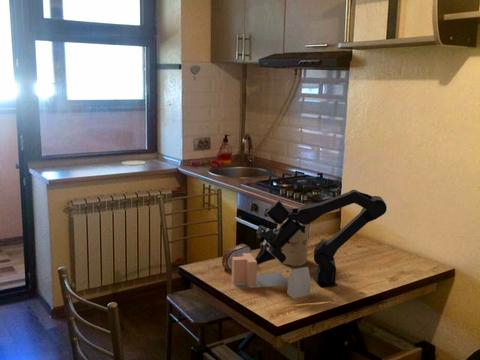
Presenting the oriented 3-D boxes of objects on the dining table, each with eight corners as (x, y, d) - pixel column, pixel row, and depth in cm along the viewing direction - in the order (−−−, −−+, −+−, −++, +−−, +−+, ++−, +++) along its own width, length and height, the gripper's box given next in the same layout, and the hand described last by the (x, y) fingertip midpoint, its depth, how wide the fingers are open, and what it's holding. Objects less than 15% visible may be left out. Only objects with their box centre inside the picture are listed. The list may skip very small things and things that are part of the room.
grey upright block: (309, 296, 175) (311, 268, 173) (293, 300, 172) (294, 271, 170) (303, 292, 178) (305, 265, 176) (287, 295, 175) (288, 268, 173)
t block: (249, 276, 189) (250, 253, 187) (256, 286, 181) (257, 261, 179) (229, 277, 187) (230, 254, 186) (235, 287, 179) (236, 263, 177)
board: (280, 274, 193) (281, 273, 193) (290, 286, 183) (290, 284, 183) (229, 278, 188) (229, 276, 188) (236, 290, 178) (236, 288, 178)
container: (308, 267, 201) (310, 223, 197) (276, 266, 201) (278, 222, 197) (305, 256, 213) (307, 214, 209) (275, 255, 213) (276, 213, 210)
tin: (245, 261, 206) (246, 241, 205) (252, 263, 204) (252, 242, 203) (221, 271, 195) (221, 250, 193) (227, 273, 193) (227, 252, 191)
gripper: (263, 211, 190) (233, 241, 190) (278, 226, 173) (246, 259, 172) (282, 230, 194) (253, 260, 193) (299, 247, 176) (267, 279, 176)
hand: (254, 264), depth 184 cm, fingers closed
